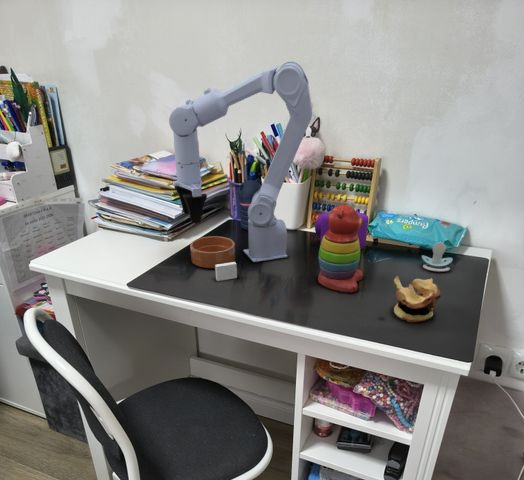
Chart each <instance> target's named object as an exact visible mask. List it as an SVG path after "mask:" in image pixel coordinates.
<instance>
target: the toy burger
mask: <svg viewBox="0 0 524 480" xmlns="http://www.w3.org/2000/svg"><path fill="white" fill-rule="evenodd" d="M393 285H394V287H395V296H396V299H397V300H398V301H397V303H396V305H394V307H393V313H394V315H395V316H396V317H397V318H399V319H400V320H403V321H406V322H409V323H419V322H426V321H428V320H431V319H432V317H433V316H434V311H435V310H434V309H435V306H436V303H437V302H438V301H439V299H440V298H441V295H442V294H441V291H440V289H439V286H438V285H437V283H436V282H435V283H434V278H433V277H431V278H428V279H422V278H415V279H413V280H412V282H411V283H409V284H408V286H407V287H404V286H403V285H402V283H401V280H400V277H399V275H396V276H395V278H394V279H393ZM415 289H416V290H415ZM416 291H417V292H416ZM402 306H406V307H407V308H410V309H415V310H417V309H422V308H424V309H425V310H427V311H429V312H428V313H426V314H425V315H423V314H416V315H415V314H414V315H412V314H410V313H406V312H405V311H404V310H403V309H402ZM400 307H401V308H400Z"/></svg>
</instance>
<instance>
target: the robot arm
mask: <svg viewBox="0 0 524 480" xmlns="http://www.w3.org/2000/svg"><path fill="white" fill-rule="evenodd" d="M275 92H276V94H277V95H278V96H279V97H280V98H281V100H282V101H283V102H284V103H285V106H286V109H287V111H288V114H289V118H288V121H287V124H286V125H285V129H284V130H283V133H282V135H281V139H280V141H279V143H278V145H277V148H276V150H275V153H274V155H273V158H272V161H271V162H270V165H269V167H268V170H267V172H266V175H265V178H264V179H263V182H262V184H261V186H260V188H259V189H258V191H256V192H255V193H254V194H253V196H252V198H251V202H250V204H249V206H248V208H247V216H248V220H247V227H248V228H247V232H248V233H247V234H248V237H247V238H248V248H246V249H243V251H242V252H243V253H244V254H245V255H246V256H247V257H248V258H249V259H250V261H251V262H252V263H259V262H266V261H271V260H272V261H273V260H279V259H284V258H285V259H286V258H288V254H287V247H288V245H287V244H288V243H287V240H288V231H287V225H286V223H285V221H284V220H283V219H281V218H280V219H278V218H277V217H276V216H275V210H276V207H277V200H278V198H279V194H280V192H281V189H282V187H283V186H284V185H283V184H284V183H285V181H286V178H287V176H288V173H289V171H290V169H291V167H292V165H293V162H294V160H295V158H296V155H297V153H298V150H299V148H300V145H301V144H302V141H303V139H304V138H305V137H304V136H305V134H306V132H307V130H308V127H309V125H310V124H311V121H312V117H313V107H312V106H313V105H312V98H311V92H310V84H309V79H308V76H307V75H306V73H305V71H304V69H303V67H302V66H301V65H300V64H299V63H298V62H296V61H287V62H284V63H283V64H281V66H280V67H279V65H276V66H273V67H270V68H267V69H264V70H261V71H259V72H257V73H256V74H254V75H252V76H250V77H248V78H246V79H245V80H243V81H241V82H239V83H237V84H235V85H233V86H231V87H230V88H228V89H226V90H224V91H221V90H220V89H217V88H213V89H210V88H207V89H205V90H204V91H203V94H202V95H200V96H198V97H196V98H194V99H190V98H189V99H187V100H185V104H182V105H180V106H178V107H176V108H175V109H174V110H172V111H171V113H170V115H169V118H168V123H169V127H170V129H171V131H172V132H173V133H172V134H173V149H174V159H175V170H176V180H173V181H172V185H173V188H174V189H175V191H176V193H177V195H178V197H179V198H178V199H179V201H180V204H181V208H182V211H183V213H184V215H188V214H189V218H190V222H191V223H192V224H199V223H201V222H202V215H203V209H204V206H205V203H206V201H207V199H208V195H207V193H202V185H203V180H202V175H201V174H202V173H201V159H200V157H201V156H200V144H199V143H200V142H199V137H198V129H197V128H198V127H201V128H202V127H205V126H206V125H208V124H210V123H213V122H214V121H217V120H219V119H220V118H223V117H225V116H227V114H228V112H229V111H228V110H229V107H230V106H233V105H236V104H237V103H239V102H241V101H244V100H246V99H248V98H250V97H253V96H254V95H257V94H258V93H263V94H269V95H274V93H275Z"/></svg>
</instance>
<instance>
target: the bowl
mask: <svg viewBox="0 0 524 480" xmlns="http://www.w3.org/2000/svg"><path fill="white" fill-rule="evenodd" d="M189 244H190V245H189V249H190V261H191V263H192V265H195V266H197V267H200V268H205V269H215V265H217V264H224V263H230V262H236V247H235V246H236V245H235V241H234V240H233V239H231V238H229V237H225V236H218V235H215V236H213V235H210V236H203V237H199V238H196V239H194V240H192V242H191V243H189Z"/></svg>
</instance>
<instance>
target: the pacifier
mask: <svg viewBox="0 0 524 480" xmlns="http://www.w3.org/2000/svg"><path fill="white" fill-rule="evenodd" d="M446 248H447V247H446V245H445V243H443V242H442V241H438V242H435V243H434V245H433V246H432V253H433V254H432V258H431V257H429V256H426V255H421V259H422V261H423V262H424V264H423V265H422V268H423V269H424V270H426V271H431V272H435V273H436V272H437V273H441V272H442V273H444V272H449V271H451V267H450V266H449V265H450V264H452V262H453V260H454V259H453V257H444V258H443V255H444V254H445V252H446V251H447V250H446Z"/></svg>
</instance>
